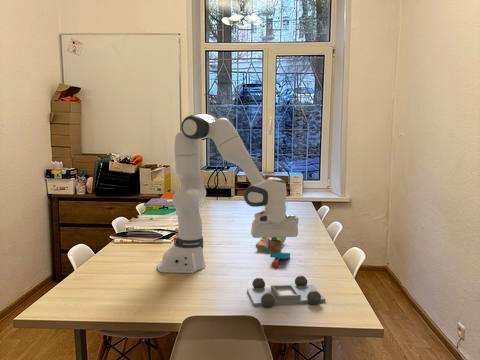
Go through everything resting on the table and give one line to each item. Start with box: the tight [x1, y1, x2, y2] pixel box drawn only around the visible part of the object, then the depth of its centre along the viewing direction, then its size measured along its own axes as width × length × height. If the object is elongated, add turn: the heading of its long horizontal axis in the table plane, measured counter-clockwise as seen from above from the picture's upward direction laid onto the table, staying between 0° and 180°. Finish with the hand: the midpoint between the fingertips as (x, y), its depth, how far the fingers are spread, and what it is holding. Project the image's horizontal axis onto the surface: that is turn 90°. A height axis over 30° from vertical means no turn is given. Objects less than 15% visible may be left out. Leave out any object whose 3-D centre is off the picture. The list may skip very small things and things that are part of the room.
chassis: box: [246, 275, 326, 308], centre depth 167 cm, size 28×17×5 cm, turn 100°
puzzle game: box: [255, 237, 282, 253], centre depth 232 cm, size 12×5×20 cm
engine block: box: [267, 237, 282, 253], centre depth 182 cm, size 4×6×6 cm
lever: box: [269, 251, 291, 269], centre depth 208 cm, size 7×7×18 cm
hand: (274, 246), depth 182 cm, fingers closed on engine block, 4 cm apart
